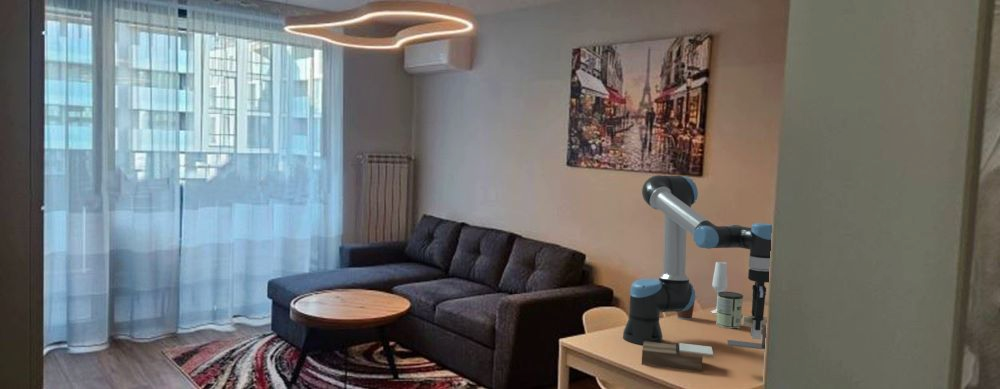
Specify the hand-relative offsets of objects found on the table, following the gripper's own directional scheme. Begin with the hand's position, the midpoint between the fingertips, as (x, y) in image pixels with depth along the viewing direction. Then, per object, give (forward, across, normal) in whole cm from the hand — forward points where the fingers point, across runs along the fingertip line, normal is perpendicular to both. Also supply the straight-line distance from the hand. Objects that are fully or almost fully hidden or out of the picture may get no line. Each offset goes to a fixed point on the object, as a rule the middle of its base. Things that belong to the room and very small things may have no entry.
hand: (755, 337), depth 228 cm
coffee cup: (+12, +71, +21) cm, 75 cm away
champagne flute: (+12, +88, +6) cm, 89 cm away
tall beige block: (+3, 0, +1) cm, 3 cm away
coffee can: (+12, +65, +3) cm, 66 cm away
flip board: (+12, 0, +27) cm, 30 cm away
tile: (+7, 0, +19) cm, 21 cm away
